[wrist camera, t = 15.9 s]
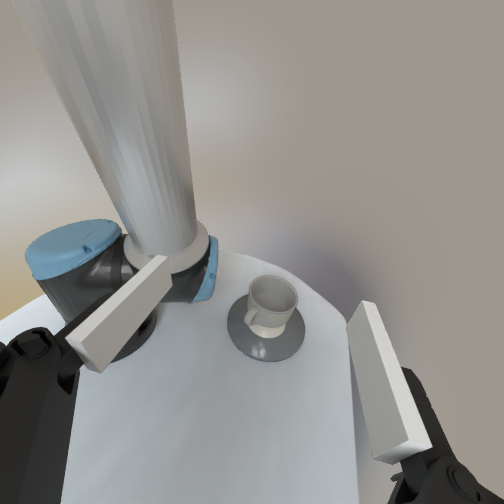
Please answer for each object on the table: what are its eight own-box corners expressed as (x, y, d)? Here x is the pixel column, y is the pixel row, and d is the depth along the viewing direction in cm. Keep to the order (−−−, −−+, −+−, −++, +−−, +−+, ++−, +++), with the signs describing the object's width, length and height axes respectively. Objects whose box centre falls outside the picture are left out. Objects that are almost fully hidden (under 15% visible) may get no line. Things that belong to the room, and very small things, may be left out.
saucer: (213, 313, 48) (213, 309, 47) (269, 286, 57) (270, 283, 57) (259, 381, 36) (260, 378, 36) (319, 333, 46) (321, 330, 45)
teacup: (269, 292, 54) (274, 269, 49) (300, 320, 47) (308, 297, 43) (225, 315, 46) (226, 291, 42) (254, 353, 39) (260, 329, 35)
